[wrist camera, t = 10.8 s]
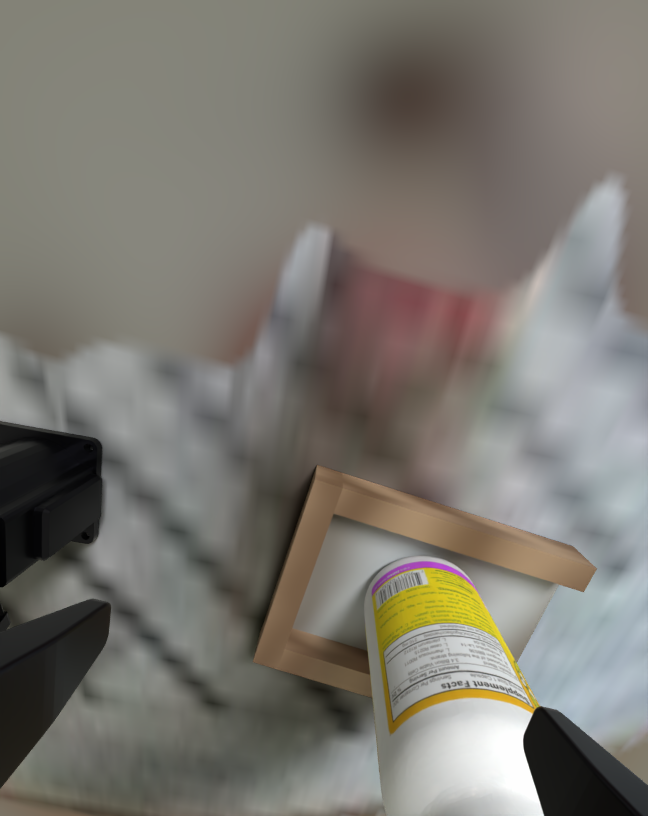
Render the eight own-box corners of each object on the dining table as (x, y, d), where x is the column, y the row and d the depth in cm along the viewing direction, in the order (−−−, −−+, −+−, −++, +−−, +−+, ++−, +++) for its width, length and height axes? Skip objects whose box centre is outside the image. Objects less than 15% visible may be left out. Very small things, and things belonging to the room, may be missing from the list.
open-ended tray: (259, 633, 23) (252, 661, 21) (317, 464, 21) (314, 479, 19) (488, 703, 24) (502, 737, 22) (573, 546, 21) (596, 568, 19)
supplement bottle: (453, 657, 23) (596, 1069, 10) (349, 630, 22) (364, 1013, 10) (492, 566, 21) (718, 913, 9) (382, 536, 21) (448, 845, 8)
